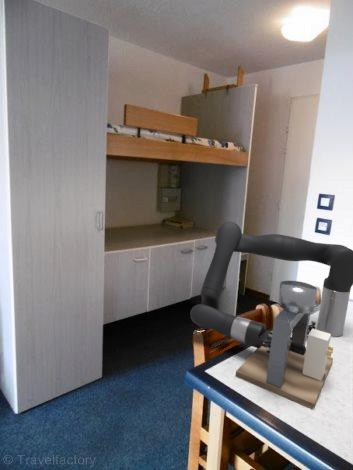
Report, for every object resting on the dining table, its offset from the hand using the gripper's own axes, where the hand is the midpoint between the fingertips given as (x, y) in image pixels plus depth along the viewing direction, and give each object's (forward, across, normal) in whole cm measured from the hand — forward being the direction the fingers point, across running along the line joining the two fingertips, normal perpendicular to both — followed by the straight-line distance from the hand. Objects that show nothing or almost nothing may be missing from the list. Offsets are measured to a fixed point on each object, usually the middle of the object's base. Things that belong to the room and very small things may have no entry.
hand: (305, 351), depth 94 cm
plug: (+3, 0, +6) cm, 6 cm away
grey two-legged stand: (-4, 0, +6) cm, 7 cm away
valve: (-9, +26, +8) cm, 29 cm away
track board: (-4, 0, +8) cm, 9 cm away
